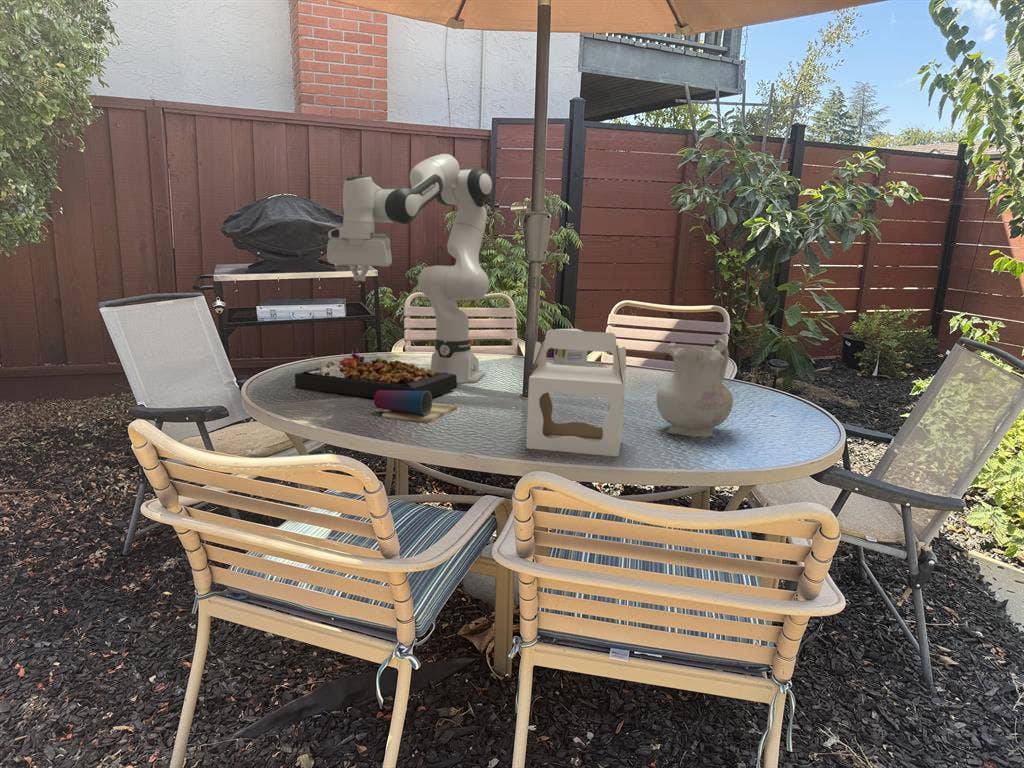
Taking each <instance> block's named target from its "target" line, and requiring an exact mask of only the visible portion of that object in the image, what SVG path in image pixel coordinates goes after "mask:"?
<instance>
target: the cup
mask: <svg viewBox="0 0 1024 768" xmlns="http://www.w3.org/2000/svg"><path fill="white" fill-rule="evenodd" d="M373 403H374V404H373V405H374V407H375V408H376V409H381V410H387V411H390V410H392V411H398V412H404V413H410V414H417V415H423V416H427V415H428V414H429V413H430V411H431V408H432V403H433V397H432V395H431V393H430V392H429V391H389V390H379V391H377V392H376V394H375V397H374V398H373Z"/></svg>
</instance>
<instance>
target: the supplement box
mask: <svg viewBox="0 0 1024 768" xmlns="http://www.w3.org/2000/svg"><path fill="white" fill-rule="evenodd" d="M555 330H571V331H583V330H582V329H578V328H555ZM553 350H554V351H553V353H554V354H553V364H554V365H569V366H583V367H588V366H587V365H588V352H589V351H584V350H568V349H553Z"/></svg>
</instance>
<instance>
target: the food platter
mask: <svg viewBox="0 0 1024 768" xmlns="http://www.w3.org/2000/svg"><path fill="white" fill-rule="evenodd" d="M356 351H357V353H355V352H350V355H349V356H346V357H345V355H344V353H343V352H342V353H341V355H342V357H343V358H342V359H341V360H339V361H336V360H333V361H332V360H331V361H325V362H324V363H322V364H320V365H318V366H316V368H312V369H308V370H307V369H306V370H304V371H302V372H299V373H295V375H294V388H295V387H296V388H295V389H301V388H303V389H302V390H309V391H310V390H311V391H317V392H326V393H333V394H343V395H349V396H356V397H357V396H358V397H365V398H373V399H374V397H375V394H376V392H377V391H379V390H389V391H429V392H430V393H431V395H432V398H433V397H435V396H438V395H441V394H445V393H447V392H449V391H453V390H456V389H457V386H458V385H457V384H458V383H457V376H456V375H455V374H448V373H446V372H445V373H436V372H434V371H433V370H431V368H429V369H427V370H425V368H423V367H421V368H419V367H418V366H415V364H413V363H410V364H408V363H407V362H402V361H400V360H389V362H388V361H387V360H386V359H383V358H378V357H377V358H376V359H373V360H371V361H365V360H366V359H365V356H364V355H363V356H361V355H360V353H359V350H358V348H356Z"/></svg>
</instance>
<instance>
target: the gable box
mask: <svg viewBox="0 0 1024 768" xmlns="http://www.w3.org/2000/svg"><path fill="white" fill-rule="evenodd" d="M544 338H545V339H544V340H543V341H542V343H541V342H540V341H535V345H534V353H533V361H532V364H533V366H532V368H531V371H530V374H529V376H528V391H527V392H528V395H527V397H528V398H527V417H526V418H527V421H526V444H525V445H526V446H525V448H526V449H528V450H529V449H530V450H538V451H540V450H541V451H549V452H560V453H561V452H562V453H571V454H582V455H594V456H605V457H615V458H618V457H619V454H620V450H621V444H622V435H623V423H624V421H623V419H624V405H625V394H626V393H625V389H626V377H627V374H626V370H627V349H626V346H622V347H620V348H619V345H618V344H617V337H616V334H614V333H613V332H605V331H604V332H603V331H585V330H582V331H571V330H556V329H548V330H547V331H546V333H545V337H544ZM549 349H551V350H554V349H568V350H584V351H588V352H600V353H601V352H602V353H606V354H608V353H611V355H612V357H613V358H612V359H613V360H612V368H610V367H599V366H598V367H597V366H596V367H594V366H587V367H583V366H569V365H554V363H553V364H551V363H547V353H548V351H549ZM550 393H561V394H565V395H570V396H574V397H579V398H580V397H581V398H582V397H583V398H584V397H585V398H588V397H597V398H598V397H600V398H602V399H603V398H604V399H606V400H607V401H608V403H609V406H608V408H607V411H606V412H607V413H606V415H605V417H604V419H603V422H602V427H599V426H595V425H592V424H589V423H586V422H581V421H579V422H578V421H574V422H565V423H559V422H558V423H557V422H554V421H553V419H552V413H553V409H554V408H553V407H554V406H553V402H552V399H551V396H550Z"/></svg>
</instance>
